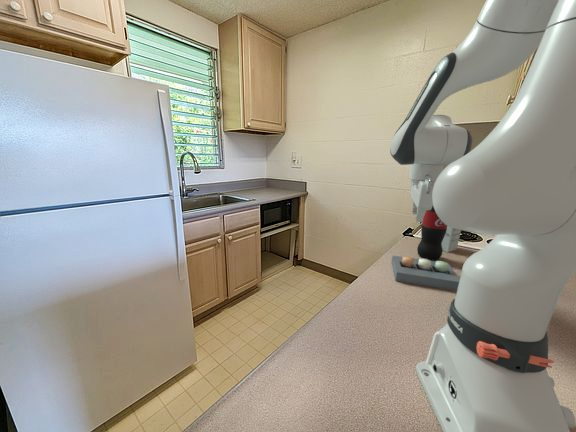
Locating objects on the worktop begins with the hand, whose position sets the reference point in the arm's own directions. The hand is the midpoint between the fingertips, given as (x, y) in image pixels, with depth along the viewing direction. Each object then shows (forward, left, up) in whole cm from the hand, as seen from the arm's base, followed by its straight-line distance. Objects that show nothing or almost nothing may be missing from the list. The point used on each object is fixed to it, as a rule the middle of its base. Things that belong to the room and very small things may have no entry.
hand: (416, 217), depth 77 cm
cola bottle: (+18, -10, -20) cm, 29 cm away
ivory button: (0, -5, -17) cm, 17 cm away
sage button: (0, -10, -17) cm, 19 cm away
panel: (0, -5, -20) cm, 20 cm away
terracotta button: (0, 0, -17) cm, 17 cm away
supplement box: (+32, -19, -20) cm, 42 cm away
